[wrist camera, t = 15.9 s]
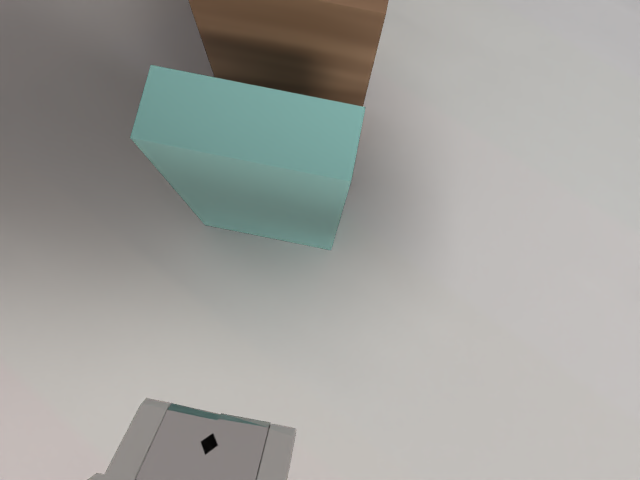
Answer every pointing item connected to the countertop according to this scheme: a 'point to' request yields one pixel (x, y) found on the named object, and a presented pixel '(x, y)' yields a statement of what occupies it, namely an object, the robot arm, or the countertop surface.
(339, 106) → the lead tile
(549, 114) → the countertop surface
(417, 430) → the countertop surface
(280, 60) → the domino
